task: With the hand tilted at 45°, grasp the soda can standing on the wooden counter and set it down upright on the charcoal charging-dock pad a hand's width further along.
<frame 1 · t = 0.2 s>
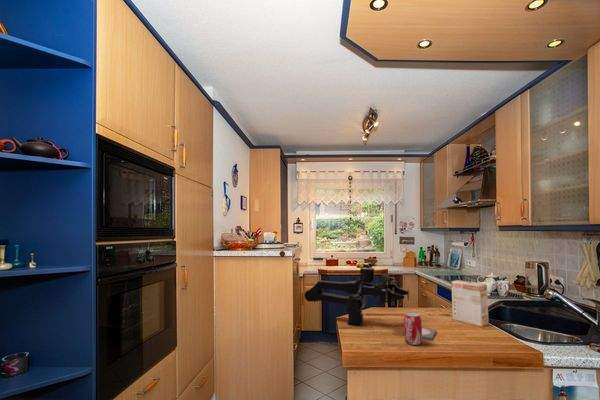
hand: (406, 295, 157), 17 cm above the table, tool horizontal, fingers open, 9 cm apart
dock pad: (420, 334, 152), on the table
soda can: (413, 343, 142), on the table
coffeecake box: (470, 322, 169), on the table
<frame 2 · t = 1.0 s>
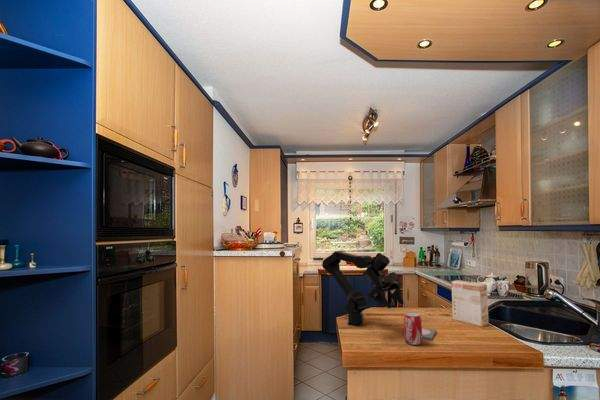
hand: (396, 306, 149), 14 cm above the table, tool tilted 45°, fingers open, 9 cm apart
nothing on the table moved.
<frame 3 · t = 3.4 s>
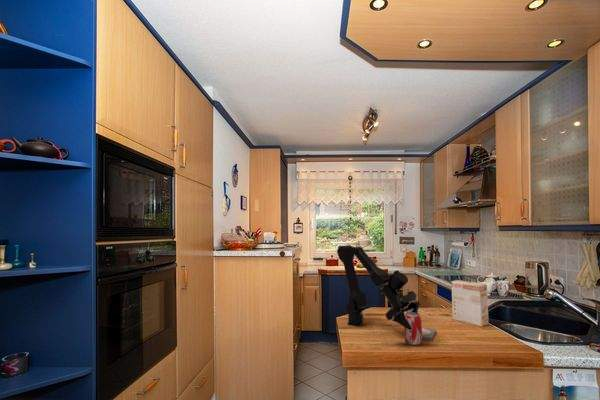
hand: (416, 327, 141), 7 cm above the table, tool tilted 45°, fingers closed on soda can, 7 cm apart
soda can: (413, 343, 142), on the table, touching gripper
everything else where it was.
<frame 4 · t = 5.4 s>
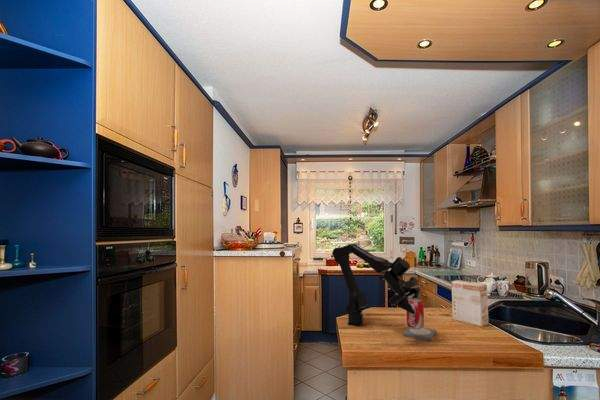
hand: (418, 312, 145), 12 cm above the table, tool tilted 45°, fingers closed on soda can, 7 cm apart
soda can: (415, 328, 145), point 5 cm above the table, touching gripper
everything else where it was.
when the fingers open (9 cm above the table, at t = 7.3 s): soda can stays where it is, resting on dock pad.
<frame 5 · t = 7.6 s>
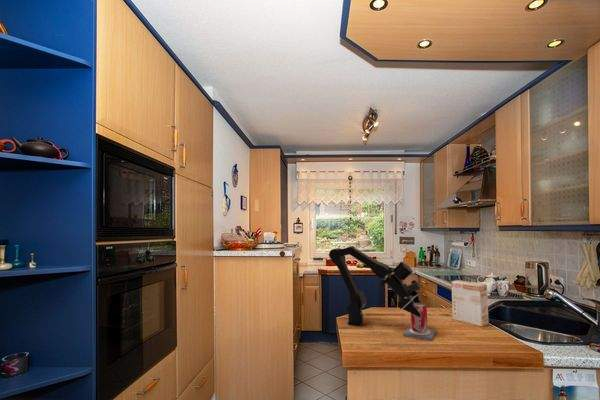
hand: (422, 313, 152), 9 cm above the table, tool tilted 45°, fingers open, 9 cm apart
soda can: (419, 331, 152), point 1 cm above the table, touching dock pad
everything else where it was.
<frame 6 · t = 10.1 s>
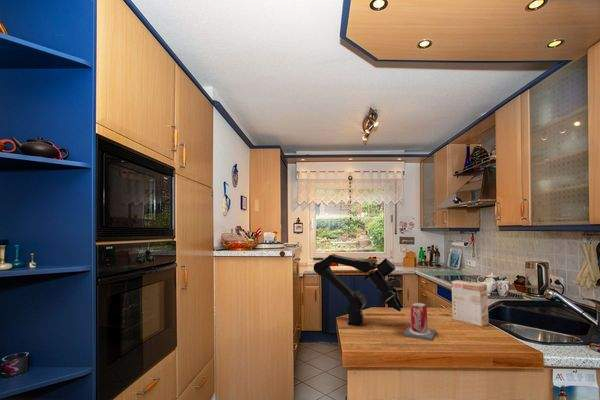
hand: (401, 309, 158), 10 cm above the table, tool tilted 40°, fingers open, 9 cm apart
nothing on the table moved.
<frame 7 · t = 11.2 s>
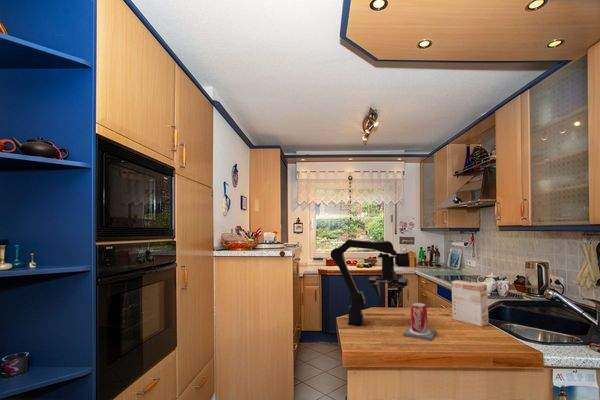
hand: (388, 298, 165), 13 cm above the table, tool pointing down, fingers open, 9 cm apart
nothing on the table moved.
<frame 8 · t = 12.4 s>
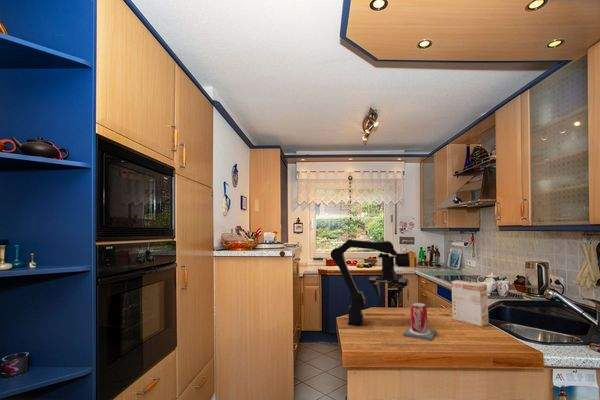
hand: (388, 298, 165), 13 cm above the table, tool pointing down, fingers open, 9 cm apart
nothing on the table moved.
at the end: soda can inside the target area on the dock pad (0.5 cm from its centre), point 1.2 cm above the dock pad's base; soda can tilted 0°; the gripper is holding nothing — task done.
